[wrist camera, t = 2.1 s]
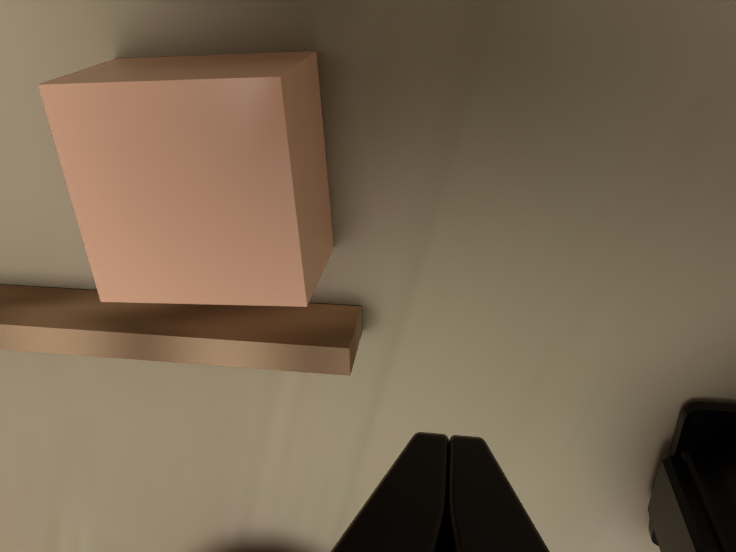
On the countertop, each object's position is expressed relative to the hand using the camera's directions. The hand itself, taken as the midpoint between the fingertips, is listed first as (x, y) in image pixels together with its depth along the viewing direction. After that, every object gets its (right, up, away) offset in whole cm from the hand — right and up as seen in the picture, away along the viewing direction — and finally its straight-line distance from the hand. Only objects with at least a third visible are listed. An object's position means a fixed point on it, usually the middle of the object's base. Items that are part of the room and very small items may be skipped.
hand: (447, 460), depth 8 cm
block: (-5, +6, +12) cm, 14 cm away
